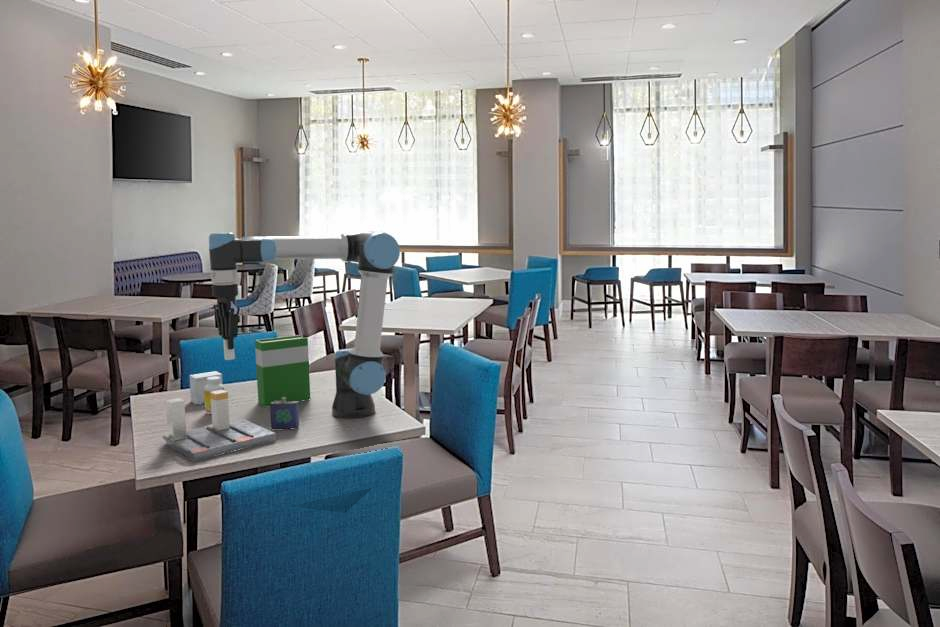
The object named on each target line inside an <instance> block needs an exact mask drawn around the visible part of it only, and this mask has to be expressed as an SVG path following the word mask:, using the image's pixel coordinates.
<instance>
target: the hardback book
mask: <svg viewBox="0 0 940 627" xmlns="http://www.w3.org/2000/svg"><path fill="white" fill-rule="evenodd" d="M308 339H309V338H308V337H302V334H296V335H288V336H287V335H286V336H279V337H270V338H263V339H254V347H255V348H254V349H255V350H254V351H255V364H256V365H255V368H256V369H255V370H256V382H257V383H256V384H257V385H256V386H257V402H258V404H259V403H260V404H259V405H261V406H262V405H263V407H264V408H267V407H266V406H270V403H271V402H275V401H277V402H278V401H281V400H282V399H281V398H282V397H286V399H285V400H286V402H293V401H300V402H303V401H302V400H306V401H310V400H311V383H310V382H311V381H310V362H309V361H310V360H309V340H308ZM309 399H310V400H309Z"/></svg>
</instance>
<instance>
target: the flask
mask: <svg viewBox="0 0 940 627" xmlns="http://www.w3.org/2000/svg"><path fill="white" fill-rule="evenodd" d="M281 399H282V400H281V401H278V402H277V401H275V402H271V403H270V407H269V414H270V415H269V416H270V418H269V419H270V429H271V430H272V429H284V430H286V429H287V430H292V429H291V428H298V427H300V422H299V421H300V416H299V402H297V401H293V402H286V400H285V399H286V397H282V398H281ZM298 429H299V428H298Z"/></svg>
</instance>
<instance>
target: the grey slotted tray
mask: <svg viewBox="0 0 940 627" xmlns="http://www.w3.org/2000/svg"><path fill="white" fill-rule="evenodd" d="M165 406H166V417H167V418H166V419H167V432H168V433H167V434H164V435H162V439H163V440H164V442H165V445H167V446H168V447H170V448H172V449H174V450H175V451H177V452H178V453H180V454H182V455H183V456H185V457H187V458H189V459H190V460H192V461H194V462H198V461H201V460H200V459H202V460H204V458H206V459H209V458H208V457H210V458H213V457H212V456H214V457H216V456H215V455H218V456H220V455H219V454H222V453H226V454H228V453H227V452H230V453H232V452H231V451H234V450H238V449H241V448H245V449H247V448H246V447H249V448H251V447H250V446H253V447H256V446H255V445H257V446H260V445H259V444H261V445H264V444H263V443H265V444H269V443H272V442H271V441H273V442H276V441H277V439H276V438H277V436H276V435H277V434H276V432H274V431H271V430H269V429H267V428H264V427H262V426H261V425H258V424H256V423H253V422H252V421H249V420H247V419H245V418H241V419H236V420H231V421H229V423H230V428H228V429H224V430H219V431H218V430H216V429H214V428H212V424H210V425H206V426H204V427H201V428H196V429H192V430H187V421H186V406H185V399H182V398H180V397H176V398H171V399H167V400H165ZM275 440H276V441H275ZM268 442H269V443H268ZM238 451H239V450H238ZM234 452H235V451H234ZM222 455H223V454H222ZM197 460H198V461H197Z"/></svg>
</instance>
